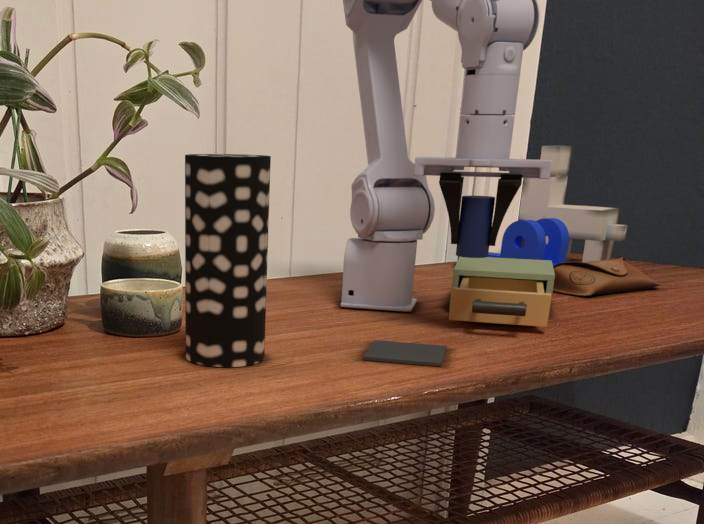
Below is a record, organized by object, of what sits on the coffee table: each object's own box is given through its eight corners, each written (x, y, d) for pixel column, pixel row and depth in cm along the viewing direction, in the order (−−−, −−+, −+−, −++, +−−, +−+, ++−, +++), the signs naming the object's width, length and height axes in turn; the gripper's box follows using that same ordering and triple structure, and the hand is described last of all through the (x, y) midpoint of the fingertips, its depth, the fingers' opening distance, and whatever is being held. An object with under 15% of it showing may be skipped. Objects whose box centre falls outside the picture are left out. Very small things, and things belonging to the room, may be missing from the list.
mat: (363, 360, 93) (363, 356, 92) (374, 343, 100) (374, 340, 100) (440, 366, 90) (441, 363, 90) (446, 349, 98) (446, 345, 97)
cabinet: (548, 318, 114) (555, 274, 112) (449, 311, 118) (453, 269, 115) (545, 300, 126) (551, 260, 124) (455, 294, 130) (459, 255, 127)
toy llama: (609, 272, 152) (631, 148, 144) (512, 261, 162) (528, 145, 155) (624, 267, 157) (645, 147, 150) (529, 257, 168) (545, 145, 160)
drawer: (547, 334, 101) (552, 301, 100) (446, 326, 104) (449, 294, 103) (544, 308, 116) (548, 278, 115) (455, 302, 119) (458, 273, 118)
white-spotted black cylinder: (175, 351, 95) (173, 153, 88) (246, 345, 98) (251, 154, 90) (200, 370, 88) (201, 157, 80) (276, 363, 91) (284, 157, 83)
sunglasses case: (590, 294, 127) (577, 251, 128) (552, 312, 133) (539, 270, 134) (665, 285, 136) (652, 244, 137) (626, 302, 142) (613, 263, 143)
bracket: (563, 275, 147) (572, 219, 144) (532, 279, 143) (540, 222, 140) (477, 262, 161) (483, 210, 158) (446, 265, 156) (452, 212, 153)
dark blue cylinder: (454, 257, 100) (461, 197, 98) (456, 253, 103) (462, 195, 101) (487, 258, 99) (495, 198, 97) (488, 254, 102) (495, 196, 100)
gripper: (416, 114, 94) (405, 245, 99) (559, 115, 90) (540, 251, 95) (422, 115, 100) (411, 238, 105) (556, 116, 97) (538, 243, 102)
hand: (472, 244), depth 101 cm, fingers closed on dark blue cylinder, 3 cm apart
